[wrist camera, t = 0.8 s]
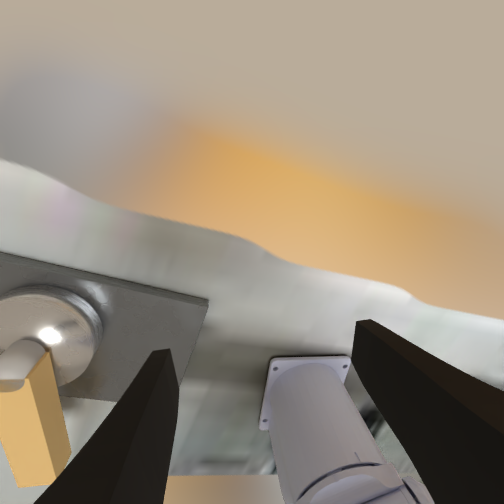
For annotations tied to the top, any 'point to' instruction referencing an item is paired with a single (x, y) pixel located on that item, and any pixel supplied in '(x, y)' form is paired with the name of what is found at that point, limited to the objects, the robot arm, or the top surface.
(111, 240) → the top surface
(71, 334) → the silver metal slab
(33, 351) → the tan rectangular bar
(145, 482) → the robot arm
